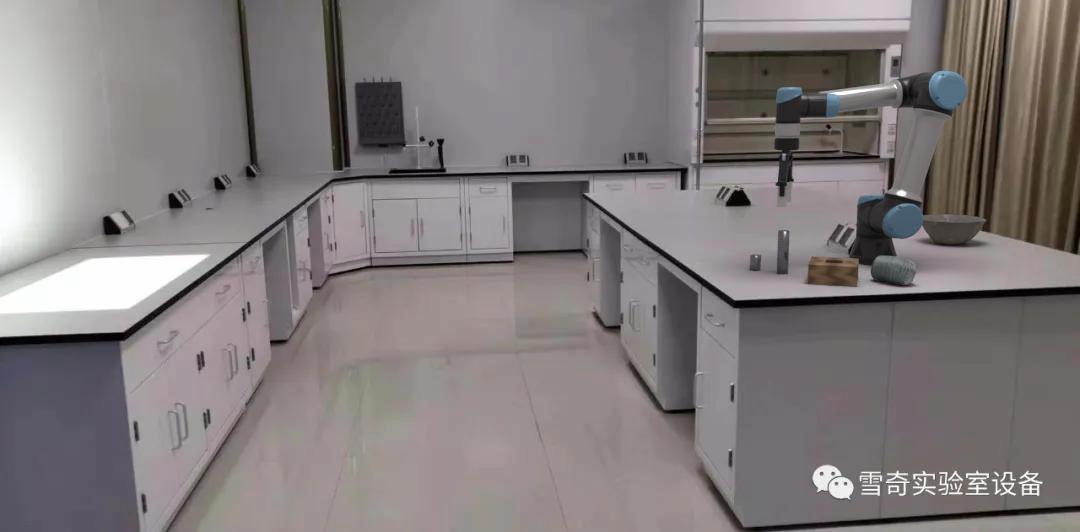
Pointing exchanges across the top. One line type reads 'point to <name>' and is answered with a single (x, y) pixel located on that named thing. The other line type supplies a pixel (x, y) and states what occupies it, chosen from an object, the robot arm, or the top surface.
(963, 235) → the ceramic bowl
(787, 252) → the long pin
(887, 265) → the spool
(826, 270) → the socket block
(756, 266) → the short pin
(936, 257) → the top surface
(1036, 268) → the top surface
